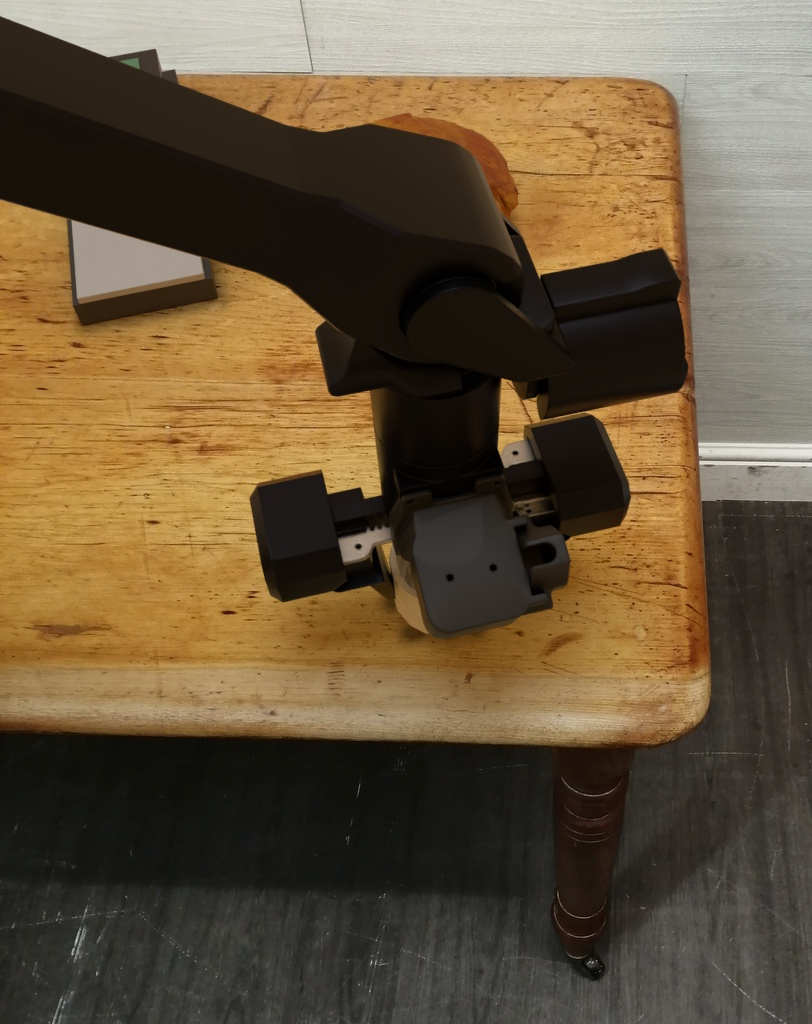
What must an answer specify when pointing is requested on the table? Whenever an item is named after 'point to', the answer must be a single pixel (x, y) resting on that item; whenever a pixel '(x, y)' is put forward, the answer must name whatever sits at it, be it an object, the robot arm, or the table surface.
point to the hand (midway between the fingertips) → (440, 581)
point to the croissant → (472, 142)
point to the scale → (132, 258)
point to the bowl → (405, 591)
